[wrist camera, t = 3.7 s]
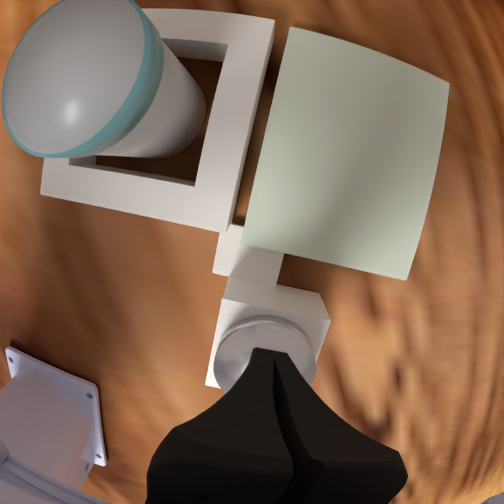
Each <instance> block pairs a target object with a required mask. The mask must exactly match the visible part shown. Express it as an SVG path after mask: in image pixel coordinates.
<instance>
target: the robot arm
mask: <svg viewBox="0 0 504 504" xmlns="http://www.w3.org/2000/svg"><path fill="white" fill-rule="evenodd" d="M6 356H7V360H8V365H9V369H10V373H11V377H12V379H11V380H10V381H9V382H8V383H7V384H6V385H5V386H4V387H3V388H2V389H1V390H0V504H111V503H109V502H106V501H103V500H101V499H98V498H96V497H93V496H91V495H88V494H86V493H84V492H81V491H80V490H81V488H82V486H83V484H84V482H85V480H86V478H87V476H88V474H89V472H90V470H91V468H92V466H93V464H94V463H95V464H98V465H100V466H106V464H107V459H106V453H105V447H104V440H103V432H102V424H101V416H100V406H99V395H98V388H97V387H96V385H95V384H94V383H92V382H89V381H87V380H84V379H82V378H79V377H77V376H74V375H72V374H69V373H67V372H65V371H62V370H60V369H58V368H55V367H53V366H51V365H48V364H46V363H44V362H42V361H40V360H38V359H35V358H33V357H31V356H29V355H27V354H25V353H23V352H21V351H19V350H17V349H15V348H13V347H11V346H9V347H7V348H6ZM407 478H408V475H407V471H406V468H405V466H404V463H403V461H402V458H401V456H400V454H399V452H398V451H396V450H394V449H392V448H389V447H387V446H385V445H383V444H381V443H379V442H376V441H375V440H373V439H371V438H369V437H368V436H366V435H364V434H363V433H361V432H359V431H358V430H356V429H355V428H354V427H352V426H351V425H349V424H348V423H347V422H345V421H344V420H343V419H342V418H340V417H339V416H338V415H337V414H336V413H335V412H334V411H332V410H331V409H330V408H329V407H328V406H327V405H326V404H325V403H324V402H323V401H322V400H321V399H320V397H319V396H318V395H317V394H316V393H315V392H314V390H313V389H312V388H311V387H310V385H309V384H308V383H307V382H306V380H305V379H304V377H303V376H302V375H301V373H300V372H299V370H298V369H297V367H296V366H295V364H294V363H293V361H292V359H291V358H290V356H289V355H288V353H285V352H280V351H274V350H269V349H264V348H259V347H255V348H253V350H252V353H251V357H250V361H249V363H248V365H247V367H246V368H245V370H244V372H243V373H242V375H241V376H240V377H239V379H238V380H237V381H236V383H235V384H234V385H233V386H232V388H231V389H230V390H229V391H228V392H227V393H226V394H225V395H224V396H223V397H222V398H221V399H219V400H218V401H217V402H216V403H215V404H214V405H212V406H211V407H210V408H208V409H207V410H206V411H204V412H202V413H201V414H199V415H198V416H196V417H195V418H193V419H191V420H189V421H187V422H185V423H183V424H181V425H179V426H177V427H174V428H173V429H172V430H171V431H170V432H169V433H168V435H167V436H166V437H165V438H164V440H163V441H162V442H161V444H160V445H159V447H158V448H157V450H156V451H155V453H154V455H153V457H152V459H151V462H150V465H149V468H148V472H147V499H146V502H145V504H388V503H389V502H390V501H391V500H392V499H393V498H394V497H395V496H396V495H397V494H398V493H399V492H400V490H401V489H402V488H403V486H404V485H405V484H406V481H407ZM481 504H504V492H503V493H500V494H498V495H495V496H492V497H490V498H488V499H487V500H485V501H484V502H483V503H481Z"/></svg>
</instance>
